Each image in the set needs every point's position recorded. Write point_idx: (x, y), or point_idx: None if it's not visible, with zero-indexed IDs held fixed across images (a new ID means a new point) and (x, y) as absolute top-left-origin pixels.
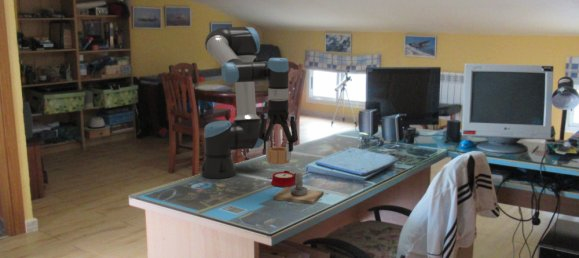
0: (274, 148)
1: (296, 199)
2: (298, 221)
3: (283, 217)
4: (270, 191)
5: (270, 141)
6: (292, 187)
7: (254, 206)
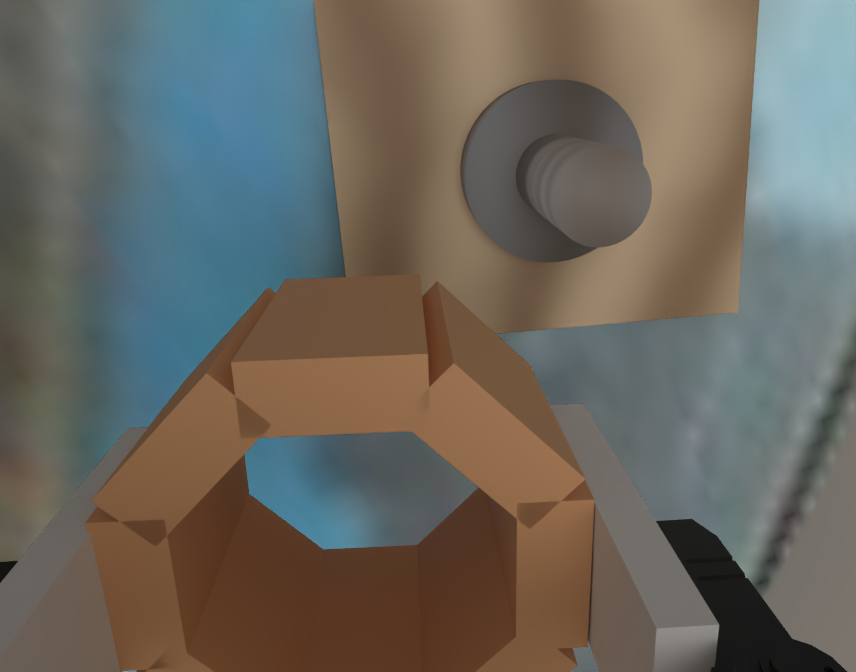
0: (191, 502)
1: (581, 325)
2: None
3: None
4: (203, 136)
5: (10, 659)
6: (471, 159)
7: None
